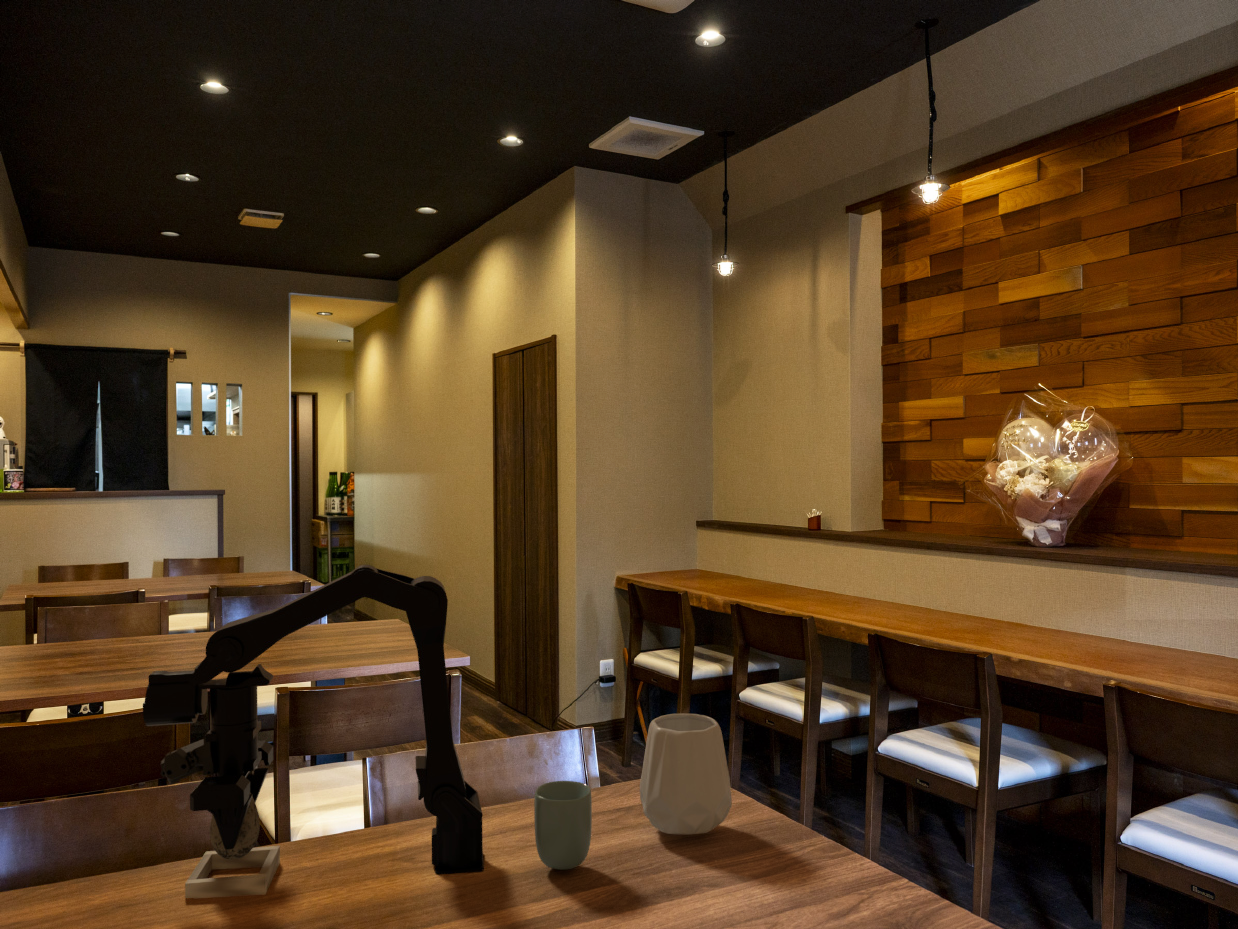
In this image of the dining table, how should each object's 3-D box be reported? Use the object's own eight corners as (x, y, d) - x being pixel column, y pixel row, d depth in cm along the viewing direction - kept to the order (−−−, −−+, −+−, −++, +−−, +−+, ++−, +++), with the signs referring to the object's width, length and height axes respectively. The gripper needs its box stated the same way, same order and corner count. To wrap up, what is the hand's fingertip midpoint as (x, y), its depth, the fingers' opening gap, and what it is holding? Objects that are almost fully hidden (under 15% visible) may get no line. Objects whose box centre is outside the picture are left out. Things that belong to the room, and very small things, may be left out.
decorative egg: (268, 855, 118) (267, 779, 118) (225, 872, 113) (224, 793, 113) (244, 844, 122) (244, 770, 122) (201, 859, 117) (200, 783, 117)
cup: (584, 879, 118) (583, 803, 118) (527, 874, 120) (527, 799, 120) (597, 853, 126) (597, 782, 126) (544, 849, 127) (543, 778, 127)
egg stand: (279, 864, 123) (279, 845, 123) (265, 896, 114) (265, 877, 114) (206, 870, 121) (206, 851, 121) (185, 903, 112) (185, 883, 112)
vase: (671, 797, 147) (670, 704, 147) (748, 816, 139) (747, 718, 139) (621, 825, 136) (620, 725, 136) (701, 848, 127) (701, 741, 127)
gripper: (189, 704, 125) (190, 816, 125) (143, 745, 107) (144, 876, 107) (273, 700, 127) (274, 810, 127) (242, 739, 109) (243, 868, 109)
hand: (235, 838), depth 118 cm, fingers closed on decorative egg, 6 cm apart
